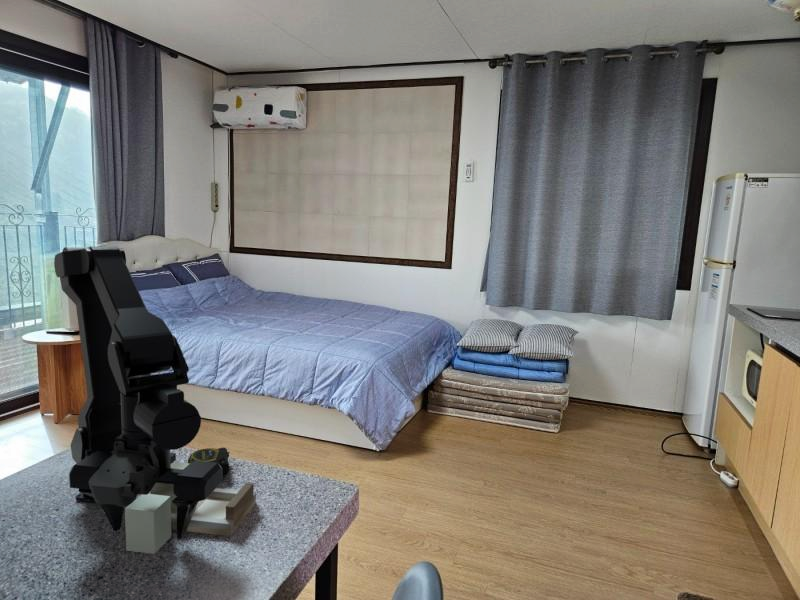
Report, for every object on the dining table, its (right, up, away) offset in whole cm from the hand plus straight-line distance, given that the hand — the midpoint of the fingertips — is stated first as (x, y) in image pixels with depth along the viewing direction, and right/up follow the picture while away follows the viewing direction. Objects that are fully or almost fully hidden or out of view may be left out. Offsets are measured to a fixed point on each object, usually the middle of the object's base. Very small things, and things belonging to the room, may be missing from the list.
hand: (149, 533), depth 72 cm
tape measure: (+1, +1, +21) cm, 21 cm away
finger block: (0, -1, 0) cm, 1 cm away
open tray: (+4, 0, +8) cm, 9 cm away
